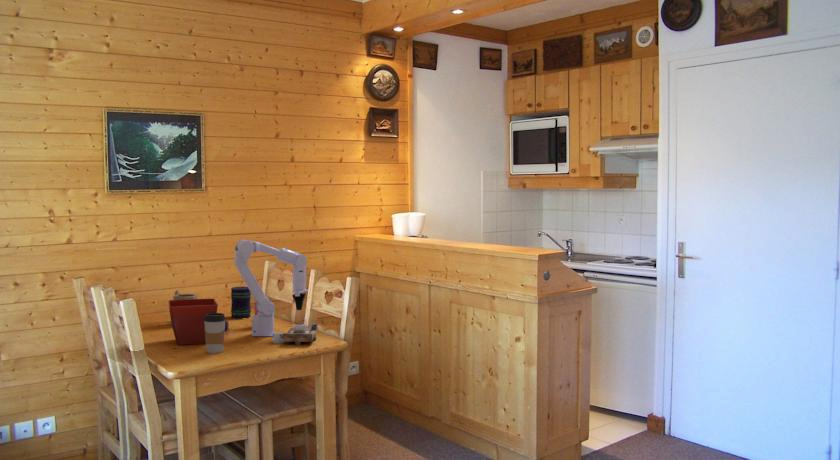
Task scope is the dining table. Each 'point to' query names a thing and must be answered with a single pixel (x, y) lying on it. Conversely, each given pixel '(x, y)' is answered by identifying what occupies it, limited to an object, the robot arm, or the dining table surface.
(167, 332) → the dining table surface
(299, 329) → the rider
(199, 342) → the plant pot
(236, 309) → the storage jar
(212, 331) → the coffee cup
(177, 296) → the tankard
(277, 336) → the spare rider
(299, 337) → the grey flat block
